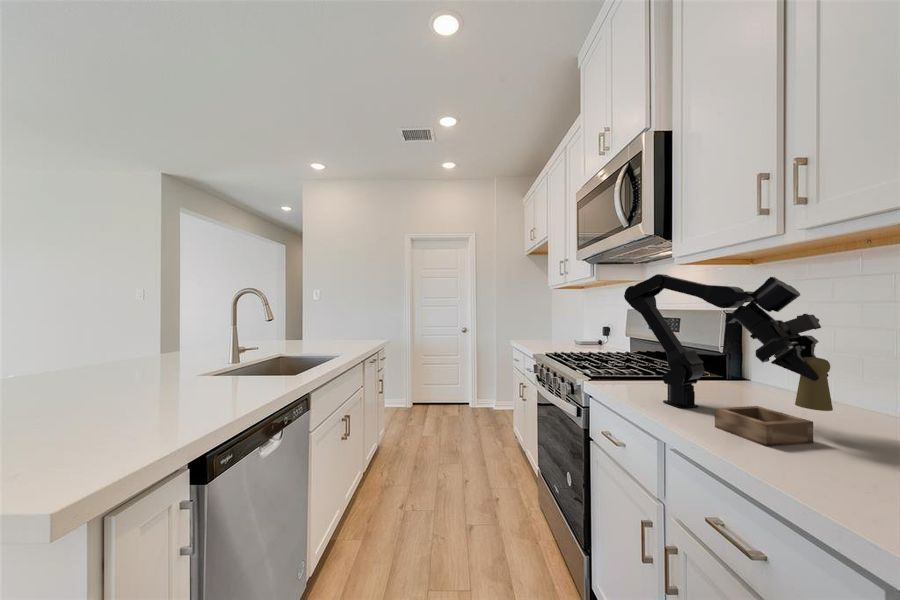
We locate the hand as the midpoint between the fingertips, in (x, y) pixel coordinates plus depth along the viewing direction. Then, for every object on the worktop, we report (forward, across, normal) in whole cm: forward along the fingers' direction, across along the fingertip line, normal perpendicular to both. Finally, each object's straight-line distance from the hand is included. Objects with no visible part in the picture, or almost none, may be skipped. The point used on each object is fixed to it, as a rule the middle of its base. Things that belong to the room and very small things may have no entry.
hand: (822, 378), depth 80 cm
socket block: (+4, -9, +15) cm, 18 cm away
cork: (+4, 0, +6) cm, 7 cm away
